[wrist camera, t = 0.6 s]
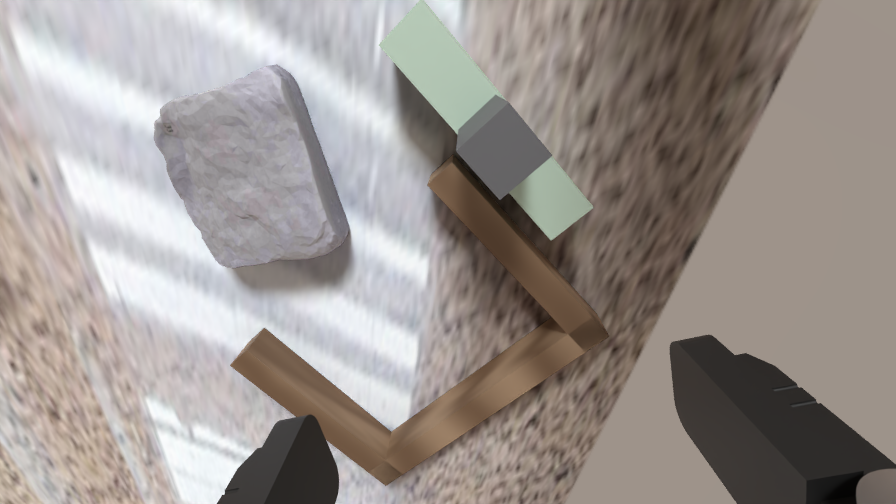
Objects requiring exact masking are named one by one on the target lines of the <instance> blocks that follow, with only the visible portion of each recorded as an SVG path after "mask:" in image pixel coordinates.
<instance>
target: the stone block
mask: <svg viewBox="0 0 896 504" xmlns="http://www.w3.org/2000/svg"><path fill="white" fill-rule="evenodd" d="M154 126H155V131H154V141H155V144H156V146H157V147H158V148H159V150H160V151H161V153H162V154H163V155H164V158H165V160H166V163H167V172H168V175H169V177H170V179H171V182H172V184H173V186H174V188H175V190H176V192H177V193H178V194H179V196H180V198H181V199H183V200H184V204H185V207H186V209H187V212H188V214H189V216H190V217H191V219H192V221H193V223H194V224H195V226H196V227H197V228H198V229H199V230H200V231H201V234H202V239H203V240H204V242H205V243H206V245H207V247H208V248H209V250H210V252H211V253H212V255H213V256H214V258H215V260H216V261H217V262H218V263H219V264H220V265H222V266H226V267H230V268H238V267H243V266H252V265H260V264H265V263H269V262H272V261H276V260H303V259H310V258H315V257H318V256H322V255H326V254H328V253H330V252H331V251H333V250H334V249H335V248H337V247H339V246H340V245H341V244H343V243H344V240H345V238H346V237H347V235H348V232H349V225H348V222H347V219H346V216H345V213H344V210H343V207H342V205H341V202H340V200H339V197H338V194H337V191H336V188H335V186H334V183H333V180H332V178H331V175H330V172H329V169H328V166H327V163H326V161H325V159H324V156H323V153H322V150H321V147H320V144H319V141H318V139H317V136H316V133H315V131H314V129H313V127H312V123H311V120H310V117H309V115H308V112H307V108H306V105H305V103H304V100H303V97H302V95H301V92H300V89H299V86H298V84H297V82H296V81H295V79H294V78H293V77H292V75H291V74H290V73H289V72H287V71H286V70H284V69H283V68H281V67H280V66H278V65H272V66H266V67H263V68H261V69H258V70H256V71H253V72H251V73H250V74H249V75H248V76H246V77H244V78H240V79H237V80H235V81H234V82H231V83H229V84H227V85H224V86H222V87H219V88H216V89H213V90H209V91H206V92H203V93H200V94H194V95H188V96H181V97H178V98H176V99H174V100H172V101H170V102H168V103H167V104H165V105H164V106H163V107H162V108H161V109H160V117H159V118H158V120H156V121H155V123H154Z"/></svg>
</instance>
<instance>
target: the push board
mask: <svg viewBox="0 0 896 504" xmlns="http://www.w3.org/2000/svg"><path fill="white" fill-rule="evenodd" d="M379 46H380V47H381V48H382V50H383V51H384V52H385V53H386V54H387V55H388V56H389V57H390V59H391V60H392V61H393V62H394V63H395V64H396V65H397V67H398V68H399V69H400V70H401V71H402V72H403V73H404V74H405V76H406V77H407V78H408V79H409V80H410V81H411V82H412V84H413V85H414V86H415V87H416V88H417V89H418V90H419V91H420V93H421V94H422V95H423V96H424V97H425V98H426V99H427V101H428V102H429V103H430V104H431V105H432V106H433V107H434V108H435V110H436V111H437V112H438V113H439V114H440V115H441V116H442V118H443V119H444V120H445V121H446V122H447V123H448V124H449V126H450V127H451V128H452V129H453V130H454V131H455V132H456V133H457V135H458V136H457V145H456V152H457V153H458V154H459V155H460V156H461V157H462V159H463V160H464V161H465V162H466V163H467V164H468V165H469V166H470V167H471V169H472V170H473V171H474V172H475V173H476V174H477V175H478V176H479V178H480V179H481V180H482V181H483V182H484V183H485V184H486V185H487V186H488V188H489V189H490V190H491V191H492V192H493V193H494V194H495V195H496V197H497V198H498V199H499V200H501V199H502V198H503V197H504V196H505V195H507V194H508V193H509V194H510V195H511V196H512V197H513V198H514V199H515V200H516V201H517V203H518V204H519V205H520V206H521V207H522V208H523V209H524V211H525V212H526V213H527V214H528V215H529V216H530V217H531V218H532V220H533V221H534V222H535V223H536V224H537V225H538V226H539V228H540V229H541V230H542V231H543V232H544V233H545V234H546V236H547V237H548V238H549V239H550V240H553V239H554V238H555V237H557V236H558V235H559V234H560V233H562V232H563V231H564V230H566V229H567V228H568V227H569V226H571V225H572V224H573V223H575V222H576V221H577V220H578V219H580V218H581V217H582V216H584V215H585V214H586V213H587V212H589V211H590V210H591V209H593V208H594V207H593V206H592V205H591V203H590V202H589V201H588V200H587V199H586V197H585V196H584V195H583V194H582V192H581V191H580V190H579V189H578V188H577V186H576V185H575V184H574V183H573V181H572V180H571V179H570V178H569V177H568V175H567V174H566V173H565V172H564V171H563V169H562V168H561V167H560V166H559V164H558V163H557V162H556V161H555V160H554V158H553V157H552V155H551V153H550V152H549V151H548V150H547V148H546V147H545V146H544V145H543V144H542V142H541V141H540V140H539V139H538V138H537V136H536V135H535V134H534V133H533V131H532V130H531V129H530V128H529V127H528V125H527V124H526V123H525V122H524V120H523V119H522V118H521V117H520V116H519V114H518V113H517V112H516V111H515V109H514V108H513V107H512V106H511V105H510V103H509V102H507V101H506V100H505V99H504V97H503V96H502V95H501V94H500V93H499V91H498V90H497V89H496V88H495V87H494V85H493V84H492V83H491V82H490V80H489V79H488V78H487V77H486V76H485V74H484V73H483V72H482V71H481V69H480V68H479V67H478V66H477V65H476V63H475V62H474V61H473V60H472V59H471V57H470V56H469V55H468V54H467V52H466V51H465V50H464V49H463V48H462V46H461V45H460V44H459V43H458V41H457V40H456V39H455V38H454V37H453V35H452V34H451V33H450V32H449V31H448V29H447V28H446V27H445V26H444V24H443V23H442V22H441V21H440V20H439V18H438V17H437V16H436V15H435V13H434V12H433V11H432V10H431V9H430V7H429V6H428V5H427V4H426V3H425V1H424V0H420V1H419V2H418V3H417V4H416V5H415V6H414V7H413V8H412V9H411V10H410V12H409V13H408V14H407V15H406V16H405V17H404V18H403V19H402V20H401V21H400V22H399V24H398V25H397V26H396V27H395V28H394V29H393V30H392V31H391V32H390V33H389V34H388V35H387V37H386V38H385V39H384V40H383V41H382V42H381V43H380V44H379Z"/></svg>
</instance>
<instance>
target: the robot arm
mask: <svg viewBox="0 0 896 504" xmlns="http://www.w3.org/2000/svg"><path fill="white" fill-rule="evenodd" d="M670 359H671V370H672V380H673V390H674V400H675V406H676V409H677V413H678V416H679V418H680V421H681V423H682V425H683V427H684V429H685V431H686V432H687V434H688V435H689V436H690V438H691V439H692V440H693V442H694V444H695V445H696V446H697V448H698V449H699V450H700V452H701V453H702V455H703V456H704V458H705V459H706V460H707V462H708V463H709V465H710V466H711V467H712V468H713V470H714V472H715V473H716V474H717V476H718V477H719V479H720V480H721V481H722V483H723V484H724V486H725V487H726V489H727V490H728V491H729V493H730V494H731V496H732V497H733V499H734V500H735V501H736V503H737V504H896V464H894V463H893V462H892V461H891V460H890V459H888V458H887V457H886V456H885V455H884V454H882V453H881V452H880V451H879V450H877V449H876V448H875V447H874V446H872V445H871V444H870V443H869V442H868V441H866V440H865V439H864V438H862V437H861V436H860V435H859V434H858V433H856V432H855V431H854V430H853V429H852V428H850V427H849V426H848V425H847V424H845V423H844V422H843V421H842V420H841V419H839V418H838V417H837V416H836V415H834V414H833V413H832V412H831V411H830V410H828V409H827V408H826V407H824V406H823V405H822V404H821V403H820V404H818V403H817V402H816V399H815V398H814V397H812V396H811V395H810V394H809V393H807V392H806V391H805V390H804V389H803V388H798V386H797V384H796V383H795V382H794V381H792V379H790V378H789V377H788V376H787V375H785V374H784V373H783V372H782V371H780V370H779V369H778V368H777V367H775V366H774V365H772V364H769V363H767V362H765V361H762V360H760V359H758V358H756V357H753V356H751V355H749V354H746V353H745V354H740V355H734V354H733V353H732V352H730V351H729V350H728V349H727V348H726V347H725V346H724V345H723V344H721V343H720V342H719V341H718V340H717V339H716V338H714V337H713V336H712V335H705V336H700V337H694V338H690V339H685V340H680V341H675V342H672V343H671V345H670ZM338 489H339V475H338V469H337V465H336V463H335V460H334V458H333V456H332V453H331V451H330V448H329V446H328V444H327V441H326V439H325V437H324V434H323V432H322V430H321V427H320V425H319V422H318V420H317V419H316V417H315V416H313V415H311V414H310V415H305V416H300V417H295V418H290V419H285V420H280V421H278V422H277V423H276V424H275V425H274V427H273V429H272V431H271V432H270V434H269V436H268V438H267V439H266V441H265V443H264V445H263V447H262V448H258V449H256V450H255V451H254V452H253V454H252V455H251V456H250V457H249V458H248V459H247V460H246V461H245V462H244V463H243V464H242V465H241V466H240V467H239V468H238V469H237V471H236V473H235V474H234V476H233V478H232V479H231V481H230V483H229V484H228V486H227V488H226V489H225V495H222V496H221V498H220V500H219V501H218V503H217V504H335V502H336V499H337V495H338Z"/></svg>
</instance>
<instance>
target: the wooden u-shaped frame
mask: <svg viewBox="0 0 896 504" xmlns="http://www.w3.org/2000/svg"><path fill="white" fill-rule="evenodd" d="M428 186H429V187H430V188H431V189H432V190H433V192H434V193H435V194H436V195H437V196H438V197H439V198H440V199H441V200H442V201H443V202H444V203H445V204H446V205H447V206H448V207H449V208H450V210H451V211H452V212H453V213H454V214H455V215H456V216H457V217H458V218H459V219H460V220H461V221H462V222H463V223H464V224H465V225H466V227H467V228H468V229H469V230H470V231H471V232H472V233H473V234H474V235H475V236H476V237H477V238H478V239H479V240H480V241H481V242H482V244H483V245H484V246H485V247H486V248H487V249H488V250H489V251H490V252H491V253H492V254H493V255H494V256H495V257H496V258H497V259H498V260H499V262H500V263H501V264H502V265H503V266H504V267H505V268H506V269H507V270H508V271H509V272H510V273H511V274H512V275H513V276H514V277H515V279H516V280H517V281H518V282H519V283H520V284H521V285H522V286H523V287H524V288H525V289H526V290H527V291H528V292H529V293H530V294H531V295H532V297H533V298H534V299H535V300H536V301H537V302H538V303H539V304H540V305H541V306H542V307H543V308H544V309H545V310H546V311H547V312H548V314H549V315H550V316H551V318H550V319H548V320H547V321H546V322H544V323H543V324H541V325H540V326H539V327H537V328H536V329H534V330H533V331H532V332H530V333H529V334H528V335H526V336H525V337H523V338H522V339H521V340H519V341H518V342H516V343H515V344H514V345H512V346H511V347H509V348H508V349H507V350H505V351H504V352H502V353H501V354H500V355H498V356H497V357H495V358H494V359H493V360H491V361H490V362H488V363H487V364H486V365H484V366H483V367H481V368H480V369H479V370H477V371H476V372H474V373H473V374H472V375H470V376H469V377H467V378H466V379H465V380H463V381H462V382H460V383H459V384H458V385H456V386H455V387H453V388H452V389H451V390H449V391H448V392H446V393H445V394H444V395H442V396H441V397H439V398H438V399H437V400H435V401H434V402H432V403H431V404H430V405H428V406H427V407H425V408H424V409H423V410H421V411H420V412H419V413H417V414H416V415H414V416H413V417H412V418H410V419H409V420H407V421H406V422H405V423H403V424H402V425H400V426H399V427H398V428H396V429H395V430H393V431H392V432H391V431H389V430H388V429H387V428H386V427H385V426H383V425H382V424H381V423H380V422H379V421H377V420H376V419H375V418H374V417H372V416H371V415H370V414H369V413H368V412H366V411H365V410H364V409H363V408H361V407H360V406H359V405H358V404H357V403H355V402H354V401H353V400H352V399H350V398H349V397H348V396H347V395H346V394H344V393H343V392H342V391H341V390H340V389H338V388H337V387H336V386H335V385H333V384H332V383H331V382H330V381H329V380H327V379H326V378H325V377H324V376H322V375H321V374H320V373H319V372H318V371H316V370H315V369H314V368H313V367H312V366H310V365H309V364H308V363H307V362H305V361H304V360H303V359H302V358H301V357H299V356H298V355H297V354H296V353H294V352H293V351H292V350H291V349H290V348H288V347H287V346H286V345H285V344H283V343H282V342H281V341H280V340H279V339H277V338H276V337H275V336H274V335H273V334H271V333H270V332H269V331H268V330H266V329H265V328H264V329H263V330H262V331H260V332H259V333H258V334H257V335H256V336H255V337H254V338H253V339H252V340H251V341H250V342H249V343H248V344H247V345H246V346H245V348H244V349H243V350H242V351H241V353H240V354H239V355H238V356H237V357H236V359H235V360H234V361H233V362H232V364H231V365H230V366H231V367H233V368H234V369H235V370H236V371H238V372H239V373H240V374H242V375H243V376H244V377H246V378H247V379H248V380H249V381H251V382H252V383H253V384H255V385H256V386H257V387H258V388H260V389H261V390H262V391H264V392H265V393H266V394H268V395H269V396H270V397H271V398H273V399H274V400H275V401H277V402H278V403H279V404H280V405H282V406H283V407H284V408H286V409H287V410H288V411H290V412H291V413H292V414H293V415H295V416H296V417H300V416H305V415H310V414H311V415H313V416H315V417H316V419H317V420H318V422H319V425H320V427H321V430H322V432H323V434H324V437H325V439H326V440H327V441H328V442H330V443H331V444H332V445H334V446H335V447H336V448H337V449H339V450H340V451H341V452H343V453H344V454H345V455H347V456H348V457H349V458H350V459H352V460H353V461H354V462H356V463H357V464H358V465H360V466H361V467H362V468H363V469H365V470H366V471H367V472H369V473H370V474H371V475H372V476H374V477H375V478H376V479H378V480H379V481H380V482H382V483H383V484H384V485H385V486H386V485H388V484H389V483H391V482H392V481H394V480H395V479H397V478H398V477H400V476H401V475H403V474H404V473H406V472H407V471H409V470H410V469H412V468H413V467H415V466H416V465H418V464H419V463H421V462H422V461H424V460H425V459H427V458H428V457H430V456H431V455H433V454H434V453H436V452H437V451H439V450H440V449H442V448H443V447H445V446H446V445H448V444H449V443H451V442H452V441H454V440H455V439H457V438H458V437H460V436H461V435H463V434H464V433H466V432H467V431H469V430H470V429H472V428H473V427H475V426H476V425H478V424H479V423H481V422H482V421H484V420H485V419H487V418H488V417H490V416H491V415H493V414H494V413H496V412H497V411H499V410H500V409H502V408H503V407H505V406H506V405H508V404H509V403H511V402H512V401H514V400H515V399H516V398H518V397H519V396H521V395H522V394H524V393H525V392H527V391H528V390H530V389H531V388H533V387H534V386H536V385H537V384H539V383H540V382H542V381H543V380H545V379H546V378H548V377H549V376H551V375H552V374H554V373H555V372H557V371H558V370H560V369H561V368H563V367H564V366H566V365H567V364H569V363H570V362H572V361H573V360H575V359H576V358H578V357H579V356H581V355H582V354H584V353H585V352H587V351H588V350H590V349H591V348H593V347H594V346H596V345H597V344H599V343H600V342H602V341H603V340H605V339H606V338H608V337H609V335H608V333H607V331H606V330H605V328H604V326H603V324H602V322H601V321H600V319H599V317H598V315H597V314H596V313H595V311H594V310H593V309H592V308H591V307H590V306H589V305H588V304H587V303H586V301H585V300H584V299H583V298H582V297H581V296H580V295H579V294H578V293H577V291H576V290H575V289H574V288H573V287H572V286H571V285H570V284H569V283H568V281H567V280H566V279H565V278H564V277H563V276H562V275H561V274H560V273H559V271H558V270H557V269H556V268H555V267H554V266H553V265H552V264H551V263H550V261H549V260H548V259H547V258H546V257H545V256H544V255H543V254H542V252H541V251H540V250H539V249H538V248H537V247H536V246H535V245H534V244H533V242H532V241H531V240H530V239H529V238H528V237H527V236H526V235H525V234H524V232H523V231H522V230H521V229H520V228H519V227H518V226H517V225H516V224H515V222H514V221H513V220H512V219H511V218H510V217H509V216H508V215H507V214H506V212H505V211H504V210H503V209H502V208H501V207H500V206H499V205H498V204H497V202H496V201H495V200H494V199H493V198H492V197H491V196H490V195H489V194H488V192H487V191H486V190H485V189H484V188H483V187H482V186H481V185H480V184H479V182H478V181H477V180H476V179H475V178H474V177H473V176H472V175H471V174H470V172H469V171H468V170H467V169H466V168H465V167H464V166H463V165H462V163H461V162H460V161H459V160H458V159H457V158H456V157H455V156H454V155H452V156H451V157H450V158H448V159H447V160H446V161H445V162H444V163H443V164H442V165H441V166H440V167H439V168H438V169H437V170H435V171H434V172H433V173H432V174H431V176H430V179H429V182H428Z"/></svg>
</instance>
